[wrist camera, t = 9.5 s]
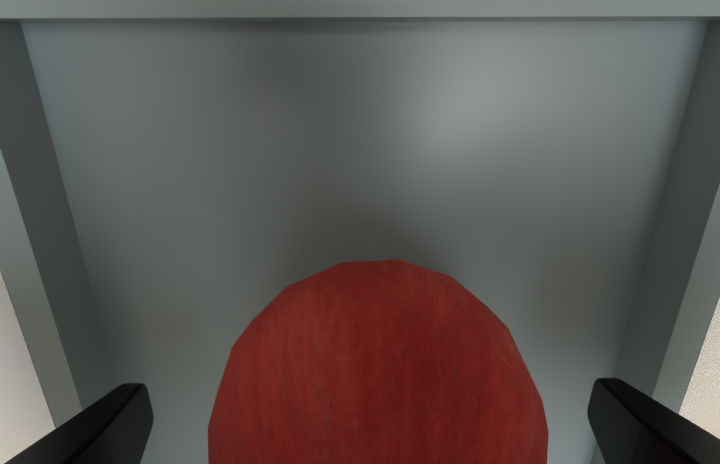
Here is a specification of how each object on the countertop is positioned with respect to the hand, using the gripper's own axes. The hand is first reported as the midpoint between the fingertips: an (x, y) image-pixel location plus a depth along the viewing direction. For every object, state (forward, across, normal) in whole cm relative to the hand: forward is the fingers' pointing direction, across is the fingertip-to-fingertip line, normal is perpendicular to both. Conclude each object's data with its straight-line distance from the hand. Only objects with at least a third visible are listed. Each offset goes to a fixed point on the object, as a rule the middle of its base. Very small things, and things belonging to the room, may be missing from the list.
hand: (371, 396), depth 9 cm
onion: (+3, 0, 0) cm, 3 cm away
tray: (+4, 0, 0) cm, 4 cm away
